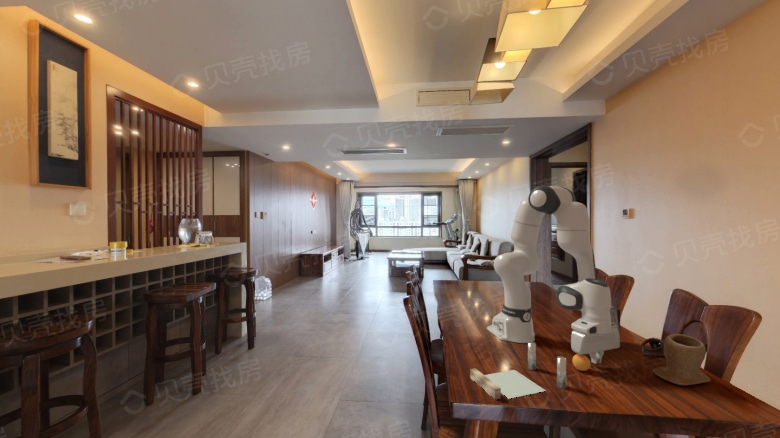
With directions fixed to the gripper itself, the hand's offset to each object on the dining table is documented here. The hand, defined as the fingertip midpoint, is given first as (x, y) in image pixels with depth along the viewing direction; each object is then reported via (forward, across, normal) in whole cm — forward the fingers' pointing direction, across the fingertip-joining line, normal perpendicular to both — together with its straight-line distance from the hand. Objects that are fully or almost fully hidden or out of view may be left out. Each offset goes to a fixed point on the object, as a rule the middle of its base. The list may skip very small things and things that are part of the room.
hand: (596, 362), depth 110 cm
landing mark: (+2, +37, 0) cm, 37 cm away
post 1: (+2, +23, -6) cm, 24 cm away
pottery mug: (+2, -32, +1) cm, 32 cm away
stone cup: (+2, -18, +16) cm, 25 cm away
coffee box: (+2, -26, -14) cm, 30 cm away
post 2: (+2, +23, +6) cm, 24 cm away
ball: (-1, +7, 0) cm, 7 cm away
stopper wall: (+2, +47, -1) cm, 47 cm away
